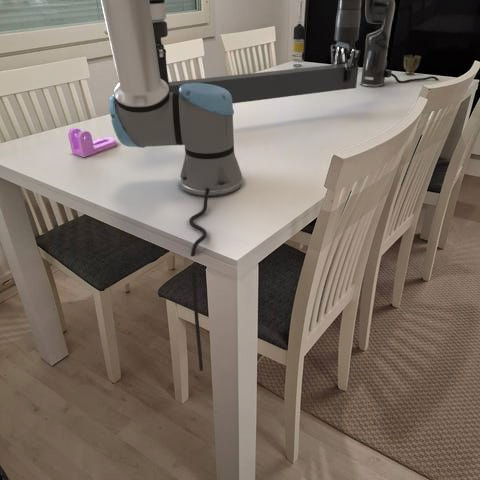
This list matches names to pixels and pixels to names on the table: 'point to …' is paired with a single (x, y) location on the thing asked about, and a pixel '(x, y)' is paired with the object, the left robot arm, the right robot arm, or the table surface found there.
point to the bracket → (88, 143)
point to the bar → (279, 82)
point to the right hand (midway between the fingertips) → (342, 79)
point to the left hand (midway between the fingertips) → (162, 107)
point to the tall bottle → (298, 39)
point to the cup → (411, 63)
